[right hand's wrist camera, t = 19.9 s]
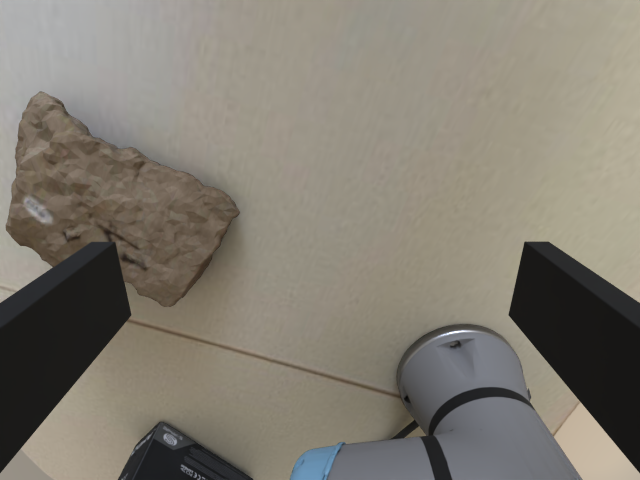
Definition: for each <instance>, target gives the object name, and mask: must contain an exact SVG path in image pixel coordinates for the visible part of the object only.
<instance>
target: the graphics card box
mask: <svg viewBox="0 0 640 480" xmlns="http://www.w3.org/2000/svg"><path fill="white" fill-rule="evenodd" d="M118 480H253V479H252V478H251V477H249V476H247V475H246V474H244V473H243V472H241V471H240V470H238V469H236V468H235V467H233V466H232V465H230V464H229V463H227V462H226V461H224V460H222V459H221V458H219V457H218V456H216V455H215V454H213V453H211V452H210V451H208V450H206V449H205V448H203V447H202V446H200V445H198V444H197V443H195V442H194V441H193V440H191V439H189V438H188V437H186V436H185V435H183V434H181V433H180V432H178V431H177V430H175V429H174V428H172V427H170V426H169V425H167V424H166V423H164V422H159V423H158V424H157V425H156V426H155V427H154V428H153V429H152V430H151V431H150V432H149V433H148V434H147V435H146V436H145V437H144V438H143V439H142V440H141V441H140V442H138V444H137V445H136V446H135V448H134V450H133V452H132V454H131V456H130V458H129V460H128V461H127V463H126V465H125V467H124V469H123V471H122V473H121V475H120V477H119V479H118Z"/></svg>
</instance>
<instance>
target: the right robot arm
mask: <svg viewBox="0 0 640 480" xmlns="http://www.w3.org/2000/svg"><path fill="white" fill-rule="evenodd" d="M130 316H131V311H130V307H129V302H128V297H127V293H126V288H125V284H124V279H123V274H122V270H121V265H120V261H119V256H118V252H117V247H116V242H90V243H89V244H87V245H86V246H84V247H83V248H81V249H80V250H78V251H77V252H76V253H74V254H73V255H71V256H70V257H68V258H67V259H65V260H64V261H62V262H61V263H59V264H58V265H56V266H55V267H53V268H52V269H50V270H49V271H47V272H46V273H44V274H43V275H41V276H40V277H38V278H37V279H35V280H34V281H32V282H31V283H29V284H28V285H26V286H25V287H24V288H22V289H21V290H19V291H18V292H16V293H15V294H13V295H12V296H10V297H9V298H7V299H6V300H4V301H3V302H1V303H0V473H1V472H2V470H3V469H4V468H5V467H6V466H7V464H8V463H9V462H10V461H11V460H12V458H13V457H14V456H15V455H16V453H17V452H18V451H19V450H20V449H21V447H22V446H23V445H24V444H25V443H26V441H27V440H28V439H29V438H30V437H31V435H32V434H33V433H34V432H35V431H36V429H37V428H38V427H39V426H40V425H41V423H42V422H43V421H44V420H45V419H46V417H47V416H48V415H49V414H50V413H51V411H52V410H53V409H54V408H55V407H56V405H57V404H58V403H59V402H60V400H61V399H62V398H63V397H64V396H65V394H66V393H67V392H68V391H69V390H70V388H71V387H72V386H73V385H74V384H75V382H76V381H77V380H78V379H79V378H80V376H81V375H82V374H83V373H84V372H85V370H86V369H87V368H88V367H89V366H90V364H91V363H92V362H93V361H94V360H95V358H96V357H97V356H98V355H99V354H100V352H101V351H102V350H103V349H104V348H105V346H106V345H107V344H108V343H109V341H110V340H111V339H112V338H113V337H114V335H115V334H116V333H117V332H118V331H119V329H120V328H121V327H122V326H123V325H124V323H125V322H126V321H127V320H128V319H129V317H130ZM509 316H510V317H511V319H512V320H513V321H514V322H515V323H516V325H517V326H518V327H519V328H520V329H521V331H522V332H523V333H524V334H525V335H526V337H527V338H528V339H529V340H530V341H531V343H532V344H533V345H534V346H535V348H536V349H537V350H538V351H539V352H540V354H541V355H542V356H543V357H544V358H545V360H546V361H547V362H548V363H549V364H550V366H551V367H552V368H553V369H554V370H555V372H556V373H557V374H558V375H559V376H560V378H561V379H562V380H563V381H564V382H565V384H566V385H567V386H568V387H569V388H570V390H571V391H572V392H573V393H574V394H575V396H576V397H577V398H578V399H579V400H580V402H581V403H582V404H583V405H584V407H585V408H586V409H587V410H588V411H589V413H590V414H591V415H592V416H593V417H594V419H595V420H596V421H597V422H598V423H599V425H600V426H601V427H602V428H603V429H604V431H605V432H606V433H607V434H608V435H609V437H610V438H611V439H612V440H613V441H614V443H615V444H616V445H617V446H618V447H619V449H620V450H621V451H622V452H623V453H624V455H625V456H626V457H627V458H628V459H629V461H630V462H631V463H632V464H633V466H634V467H635V468H636V469H637V470H638V471H639V473H640V303H639V302H637V301H636V300H634V299H633V298H631V297H630V296H628V295H627V294H625V293H624V292H622V291H621V290H619V289H618V288H616V287H615V286H614V285H612V284H611V283H609V282H608V281H606V280H605V279H603V278H602V277H600V276H599V275H597V274H596V273H594V272H593V271H591V270H590V269H588V268H587V267H585V266H584V265H582V264H581V263H579V262H578V261H576V260H575V259H573V258H572V257H570V256H569V255H567V254H566V253H564V252H563V251H562V250H560V249H559V248H557V247H556V246H554V245H553V244H551V243H550V242H524V247H523V252H522V256H521V261H520V265H519V270H518V274H517V279H516V284H515V288H514V293H513V297H512V302H511V307H510V311H509ZM397 384H398V388H399V392H400V396H401V399H402V401H403V404H404V405H405V407H406V408H407V410H408V411H409V413H410V414H411V415H412V417H413V418H414V419H415V420H414V421H413V422H411V423H410V424H409V425H408V426H406V427H405V428H404V429H403V430H402V431H400V432H399V433H398V434H397V435H396V436H395V437H393V438H392V439H390V440H382V441H372V442H362V443H352V444H346V443H345V442H340V443H338V444H337V445H336V446H329V447H323V448H317V449H311V450H308V451H306V452H305V453H304V454H302V455H301V456H300V458H299V459H298V460H297V462H296V464H295V466H294V468H293V471H292V474H291V477H290V480H582V478H581V477H580V475H579V474H578V472H577V471H576V469H575V468H574V467H573V465H572V464H571V462H570V461H569V459H568V458H567V456H566V455H565V453H564V452H563V450H562V449H561V447H560V446H559V444H558V443H557V442H556V440H555V439H554V437H553V436H552V434H551V433H550V431H549V430H548V428H547V427H546V425H545V424H544V422H543V421H542V419H541V418H540V416H539V415H538V414H537V412H536V411H535V409H534V408H533V406H532V405H531V403H530V399H531V395H530V391H529V388H528V391H527V388H526V384H525V380H524V376H523V370H522V366H521V363H520V360H519V358H518V356H517V354H516V353H515V351H514V350H513V349H512V347H511V346H510V345H509V343H508V342H507V341H506V340H505V339H504V338H503V337H502V336H501V335H499V334H498V333H496V332H494V331H492V330H490V329H488V328H485V327H481V326H477V325H468V324H460V325H451V326H446V327H443V328H440V329H437V330H434V331H432V332H430V333H428V334H426V335H424V336H423V337H421V338H420V339H418V340H417V341H416V342H415V343H414V344H413V345H412V346H411V347H410V348H409V349H408V350H407V351H406V353H405V354H404V356H403V357H402V359H401V361H400V364H399V367H398V371H397ZM418 426H420V427H421V429H422V430H423V431H424V433H425V434H426V435H427V436H422V437H412V438H405V437H406V436H407V435H408V434H409V433H411V432H412V431H413V430H415V429H416V428H417V427H418Z"/></svg>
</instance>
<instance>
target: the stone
mask: <svg viewBox="0 0 640 480" xmlns="http://www.w3.org/2000/svg"><path fill="white" fill-rule="evenodd" d="M15 159H16V163H17V169H16V179H15V180H14V182H13V184H12V200H11V205H10V210H9V216H8V221H7V223H6V231H7V232H8V233H9V234H10V235H11V237H12V238H13V239H14V240H15V241H16V242H17V243H18V244H19V245H20V246H27V247H29V248H32V249H33V250H34V251H36V252H37V253H38V254H39V255H40V257H41V258H42V260H44V261H46V262H48V263H49V264H50V265H51V266H52V267H55V266H56V265H58V264H59V263H61V262H62V261H64V260H65V259H67V258H68V257H70V256H71V255H73V254H74V253H76V252H77V251H78V250H80V249H81V248H83V247H84V246H86V245H87V244H89V243H90V242H116V247H117V252H118V256H119V261H120V265H121V270H122V274H123V279H124V282H128V283H131V284H132V285H133V286H134V287H135V288H136V290H137V292H138V294H139V295H142V296H146V297H149V298H152V299H153V300H155V301H157V302H158V303H159V304H160V305H162V306H164V307H170V306H173V305H175V304H176V302H177V301H178V300H179V299H180V298H183V297H184V296H185V295H186V293H187V292H188V290H189V289H190V288H191V287H192V286H193V285H194V283H195V282H196V281H197V280H198V279H199V278H200V277H201V275H202V273H203V272H204V270H205V268H206V267H208V265H209V263H210V261H211V259H212V253H213V252H214V251H215V250H216V249H217V248H218V247H219V246H220V244H221V239H222V238H223V236H224V235H225V233H226V232H227V228H228V226H229V225H230V223H231V221H232V219H233V218H235V217H237V216H238V215H239V213H240V211H239V210H238V208H237V207H236V205H235V203H234V201H233V200H231V198H230V197H229V196H228V195H226V194H225V193H224V192H223V191H221V190H218V189H216V188H214V187H207V186H203V185H202V183H201V182H200V181H199V180H197V179H196V178H195V177H193V176H192V175H191V174H188V173H185V172H181V171H176V170H174V169H171V168H169V167H166V166H161V165H160V164H159V163H157V162H154V161H151V160H149V159H148V158H147V157H146V156H144V155H143V154H141V153H140V152H139V151H138V150H137V149H135V148H132V147H129V148H127V149H118V148H117V147H116V146H115V145H112V144H109V143H106V142H105V141H103V140H102V139H100V138H95V137H92V135H91V134H90V132H89V130H88V128H87V127H86V126H85V125H84V124H83V123H82V122H80V121H79V120H78V119H76V118H74V117H72V116H70V115H69V114H68V112H67V111H66V109H65V107H64V104H63V103H62V101H60V100H58V99H57V98H54V97H52V96H49V95H48V94H46V93H44V92H39V93H38V94H37V95H35V96H34V97H32V98H31V99H30V101H29V103H28V105H27V108H26V110H25V111H24V112H23V114H22V120H21V122H20V123H19V131H18V143H17V147H16V155H15Z"/></svg>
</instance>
